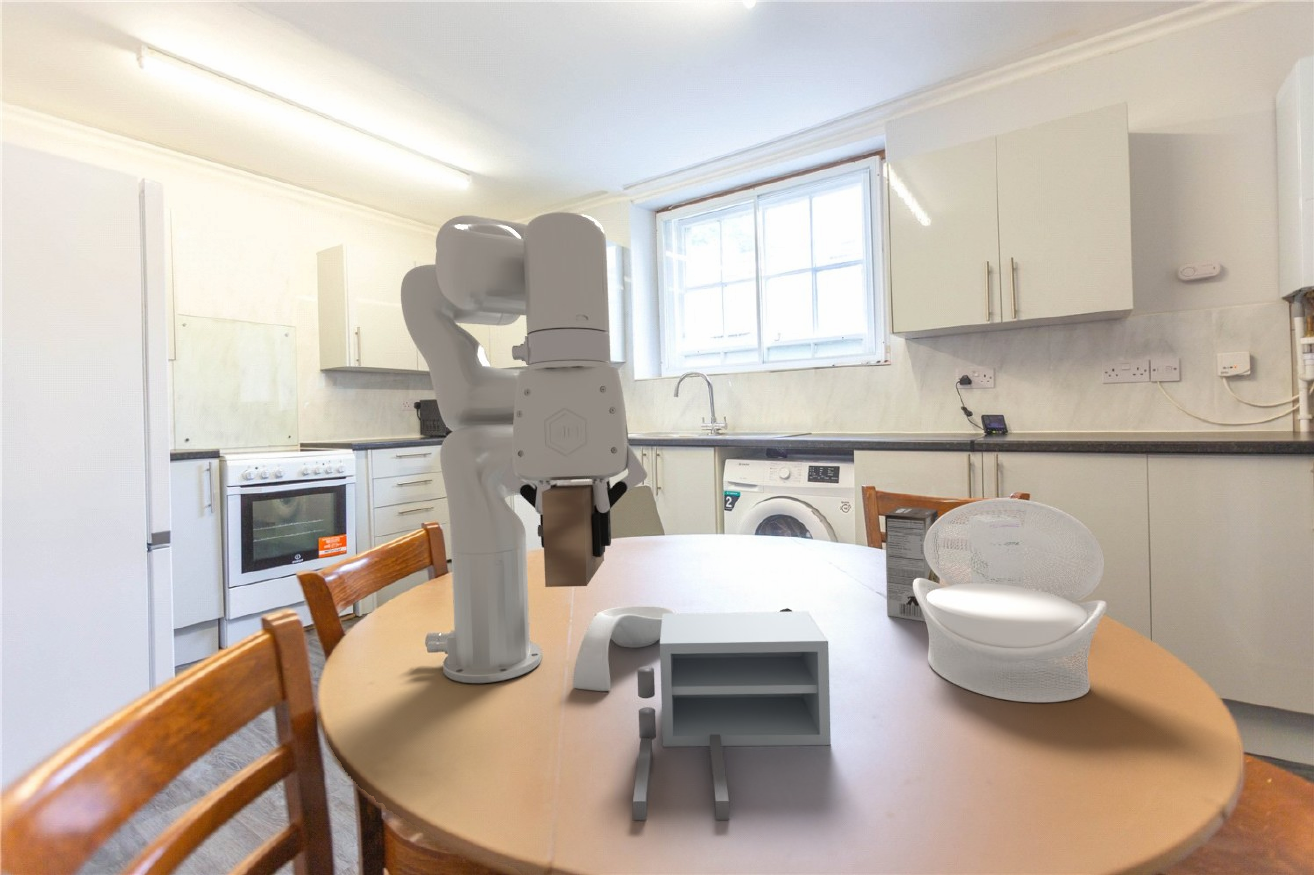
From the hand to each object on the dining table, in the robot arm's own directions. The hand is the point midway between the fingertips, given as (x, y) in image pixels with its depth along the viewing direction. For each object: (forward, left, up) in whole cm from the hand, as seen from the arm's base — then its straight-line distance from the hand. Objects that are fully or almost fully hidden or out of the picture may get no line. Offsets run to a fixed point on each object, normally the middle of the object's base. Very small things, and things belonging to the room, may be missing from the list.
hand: (577, 552), depth 55 cm
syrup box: (+60, +44, -20) cm, 77 cm away
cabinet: (+14, +1, -19) cm, 24 cm away
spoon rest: (+1, +26, -20) cm, 33 cm away
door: (0, 0, -2) cm, 2 cm away
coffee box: (+46, +42, -20) cm, 65 cm away
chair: (+48, +19, -20) cm, 55 cm away
